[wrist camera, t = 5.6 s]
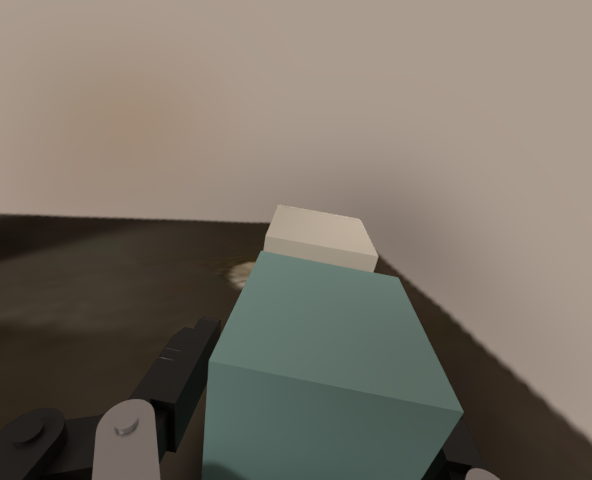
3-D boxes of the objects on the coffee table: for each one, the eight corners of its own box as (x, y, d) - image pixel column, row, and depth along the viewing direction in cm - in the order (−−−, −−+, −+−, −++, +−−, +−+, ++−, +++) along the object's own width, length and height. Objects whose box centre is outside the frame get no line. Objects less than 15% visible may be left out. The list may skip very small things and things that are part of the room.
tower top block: (257, 290, 18) (265, 235, 17) (271, 246, 25) (278, 204, 23) (361, 308, 18) (378, 256, 17) (348, 260, 25) (360, 219, 23)
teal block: (195, 574, 9) (208, 360, 5) (237, 426, 14) (260, 250, 10) (340, 605, 9) (464, 412, 5) (334, 445, 14) (398, 277, 10)
